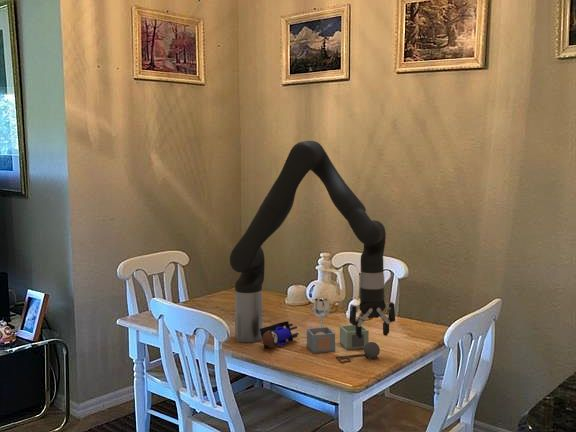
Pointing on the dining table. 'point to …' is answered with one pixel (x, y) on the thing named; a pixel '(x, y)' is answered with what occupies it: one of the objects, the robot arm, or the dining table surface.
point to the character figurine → (277, 334)
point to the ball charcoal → (371, 350)
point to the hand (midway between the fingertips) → (372, 336)
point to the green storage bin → (353, 337)
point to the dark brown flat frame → (353, 356)
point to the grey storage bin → (320, 340)
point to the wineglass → (321, 308)
